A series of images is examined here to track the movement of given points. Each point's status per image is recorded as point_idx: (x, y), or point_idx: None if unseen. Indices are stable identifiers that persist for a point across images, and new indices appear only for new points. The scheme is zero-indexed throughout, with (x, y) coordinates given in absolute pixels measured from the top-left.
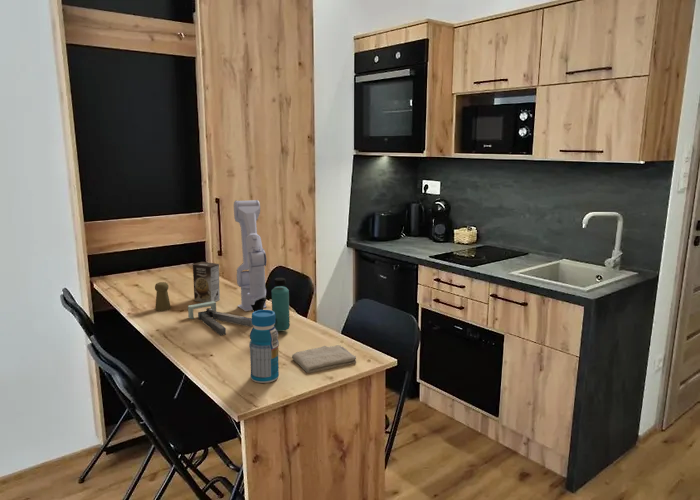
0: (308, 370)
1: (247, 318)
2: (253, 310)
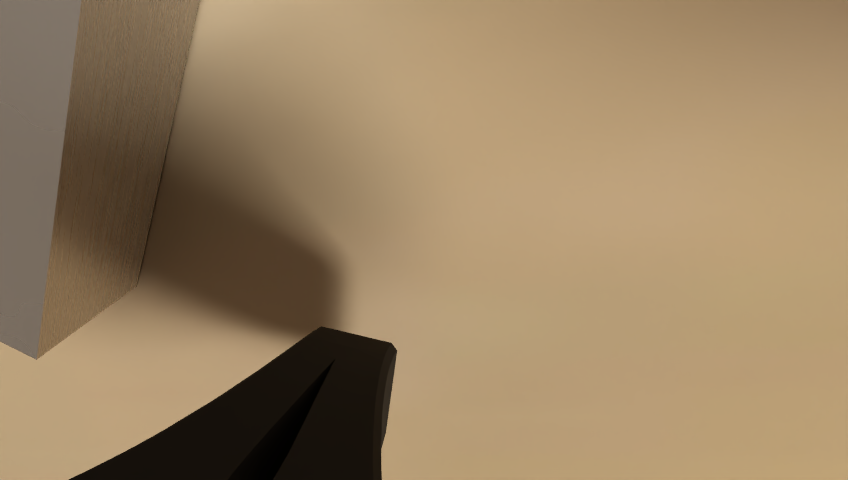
0: None
1: (4, 217)
2: (179, 428)
